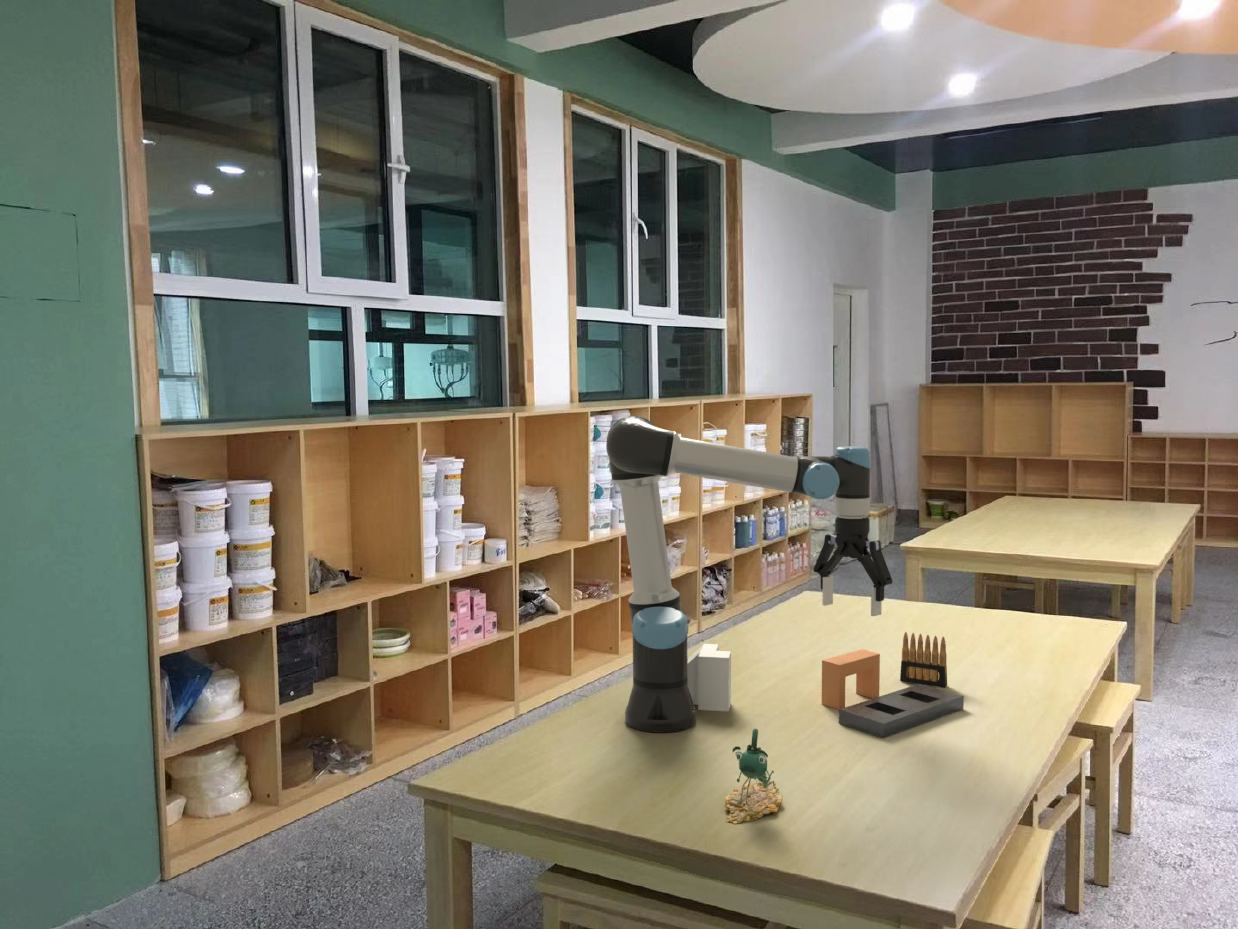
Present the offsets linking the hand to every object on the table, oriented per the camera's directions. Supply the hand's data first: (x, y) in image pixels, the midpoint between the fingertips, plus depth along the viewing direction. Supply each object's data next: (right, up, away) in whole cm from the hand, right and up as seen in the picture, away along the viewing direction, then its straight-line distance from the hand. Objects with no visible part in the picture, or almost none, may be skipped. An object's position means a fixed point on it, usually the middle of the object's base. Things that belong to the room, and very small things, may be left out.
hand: (851, 610), depth 234 cm
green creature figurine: (-28, -27, -54) cm, 66 cm away
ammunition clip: (+20, -20, +14) cm, 31 cm away
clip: (0, -21, +2) cm, 21 cm away
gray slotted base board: (+9, -22, -9) cm, 25 cm away
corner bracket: (-33, -21, +1) cm, 39 cm away
